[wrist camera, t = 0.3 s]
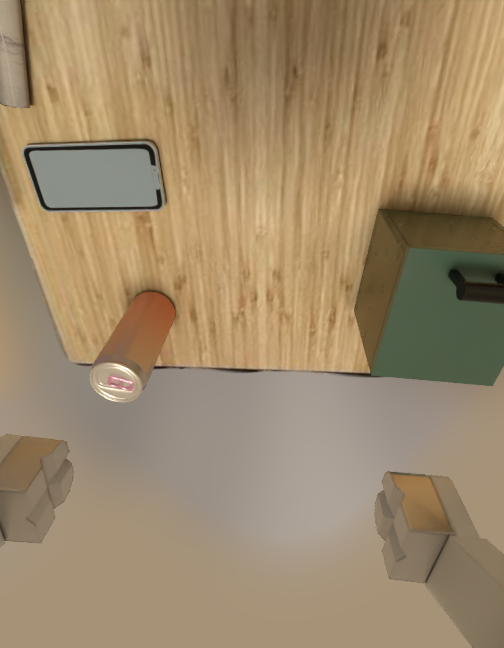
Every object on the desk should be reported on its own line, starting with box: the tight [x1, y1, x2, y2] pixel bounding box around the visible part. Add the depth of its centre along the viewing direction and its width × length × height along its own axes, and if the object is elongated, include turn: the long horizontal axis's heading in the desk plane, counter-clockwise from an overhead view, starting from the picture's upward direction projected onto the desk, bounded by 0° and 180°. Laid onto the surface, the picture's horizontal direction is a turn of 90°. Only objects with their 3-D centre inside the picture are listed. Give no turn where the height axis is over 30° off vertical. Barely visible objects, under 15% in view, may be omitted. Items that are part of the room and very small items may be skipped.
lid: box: [370, 244, 504, 386], centre depth 36 cm, size 14×13×5 cm
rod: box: [0, 0, 30, 108], centre depth 36 cm, size 12×3×3 cm, turn 167°
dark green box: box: [354, 209, 504, 368], centre depth 43 cm, size 14×13×12 cm
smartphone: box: [22, 141, 166, 212], centre depth 44 cm, size 7×1×15 cm
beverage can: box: [89, 292, 175, 402], centre depth 47 cm, size 6×6×15 cm
